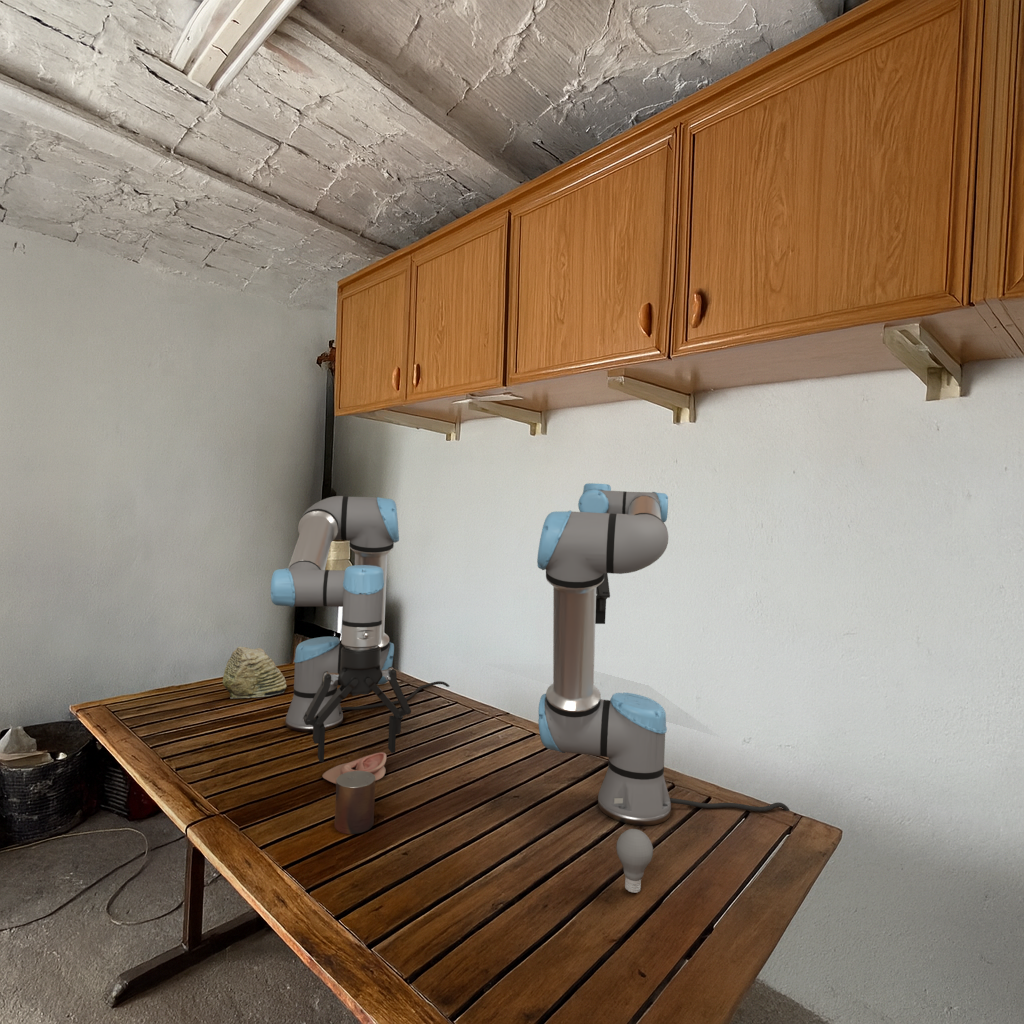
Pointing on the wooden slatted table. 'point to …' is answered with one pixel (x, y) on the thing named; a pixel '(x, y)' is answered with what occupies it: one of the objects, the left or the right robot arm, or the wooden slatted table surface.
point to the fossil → (252, 674)
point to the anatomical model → (359, 767)
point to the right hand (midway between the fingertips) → (591, 618)
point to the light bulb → (634, 857)
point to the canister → (354, 802)
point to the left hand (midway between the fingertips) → (356, 754)
